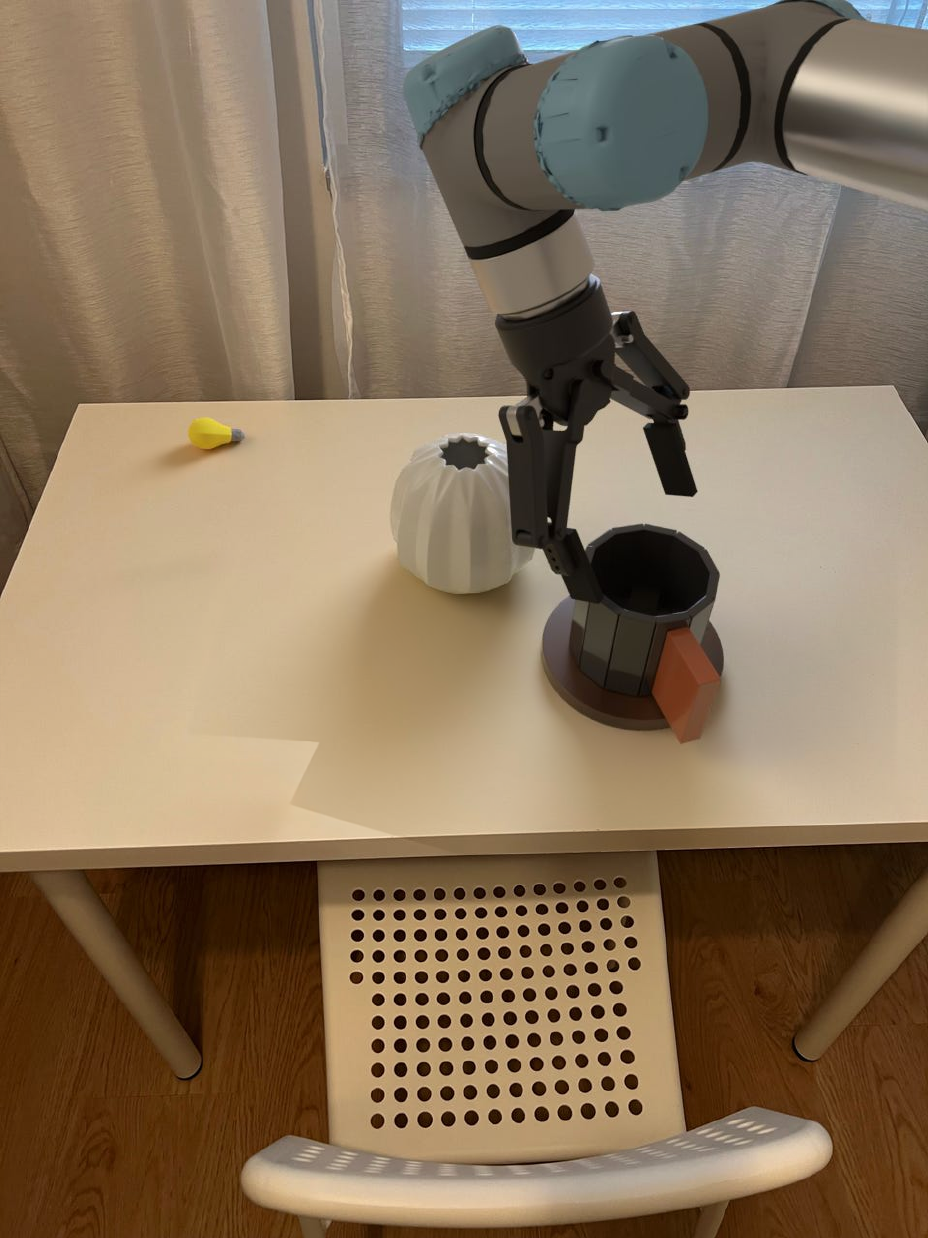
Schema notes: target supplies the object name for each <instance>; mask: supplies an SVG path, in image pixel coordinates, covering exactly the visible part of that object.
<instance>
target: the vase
mask: <svg viewBox="0 0 928 1238" xmlns="http://www.w3.org/2000/svg"><path fill="white" fill-rule="evenodd" d="M389 522H390V523H389V524H390V530H391V534H392V538H393V540H394V541H395V543H396V549H397V550H396V551H397V558H398V562H399V566H401V567H402V568H404V569H405V571H407V572H409V573H411V574H412V575H413V576H414V577H416V578H418V579H419V580H421V581H422V582H424V583H425V585H426V586H428V587H429V588H432V589H436V590H438V591H441V592H445V593H448V594H454V595H463V594H481V593H484V592H488V591H491V590H493V589H496V588H499V587H501V586H503V585H506V584H509V582H511V580H512V578H513V576H514V574H516V573H517V572H518V571H519V570H521V569H522V568H523V567H524V566H525V565H526V564H528V563H529V562H530V561H532V559H533V556H534V553H535V551H536V548H531V547H525V546H518V545H515V544H514V543H513V541H512V530H511V513H510V496H509V479H508V462H507V445H506V444H505V443H503V442H501V441H499V440H496V439H494V438H491V437H488V436H484V435H481V434H480V433H472V432H463V433H461V432H460V433H459V432H456V433H455V432H454V433H450V434H446V435H441V436H440V437H439V438H436V439H434V440H431V441H429V442H427V443H425V444H423V445H420V446H418V447H417V448H415V449H414V450H413V451H412V453H411V456H410V459H409V462H408V463H407V464H406V465H404V467H403V468H402V469H401V471H400V473H399V474H398V476H397V478H396V480H395V484H394V488H393V491H392V496H391V502H390V512H389Z"/></svg>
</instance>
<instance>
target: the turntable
mask: <svg viewBox="0 0 928 1238" xmlns="http://www.w3.org/2000/svg"><path fill="white" fill-rule="evenodd" d="M574 603H575V599H571V597H570V595H568V596H567V597H566V598H564V599H563V600H561V601H560V602H559V603H558V605H556V607H555V608H554V609H553V610H552V612H551V613H550V615H549V616H548V618H547V621H546V623H545V625H544V628H543V632H542V637H541V638H542V640H541V650H540V654H541V655H540V656H541V663H542V667H543V670H544V673H545V675H546V678H547V680H548V682H549V684H550V685H551V686H552V688H553V689H554V691H555V692H556V693H557V694H558V696H559V697H560V698H561V699H562V700H563V701H564V702H565V703H567V704H568V705H569V706H570V707H571V708H573V709H574V710H575V711H577V712H578V713H580V714H582V715H583V716H585V717H587V718H588V719H590V720H592V721H595V722H598V723H600V724H602V725H606V726H609V727H614V728H617V729H622V730H628V731H629V730H630V731H652V730H653V731H654V730H662V729H665V728H671V726H670V725H669V723H668V721H667V719H666V717H665V716H664V714H663V712H662V710H661V708H660V707H659V705H658V703H657V701H656V700H655V698H654V696H653V694H651V695H646V696H640V697H639V695H638V696H637V697H636V696H632V695H628V694H624V693H620V692H616V691H612V690H608V689H605V687H604V688H603V687H601V686H600V685H599V684H598V683H596V682H595V681H594V680H593V679H591V678H590V677H589V676H588V675H586V674H585V673H584V672H582V671H581V670H580V667H578V666H577V663H576V660H575V658H574V655H573V653H572V650H571V648H570V645H569V638H570V631H571V624H572V617H573V610H574ZM701 648H702V649H703V651H704V653H705V654H706V656H707V657H708V659H709V661H710V662H711V664H712V665H713V667H714V669H715V670H716V672H717V673H718V675H719V677H720V678H722V674H723V671H724V664H725V663H724V662H725V656H724V648H723V644H722V641H721V638H720V635H719V633H718V632H717V629H715V626H714V625H713V623H712V622H711V621H710V620H709V621H708V625H707V628H706V631H705V634H704V637H703V641H702V644H701Z"/></svg>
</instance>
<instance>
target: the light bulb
mask: <svg viewBox="0 0 928 1238" xmlns="http://www.w3.org/2000/svg"><path fill="white" fill-rule="evenodd" d="M187 435H188V439H189V441H190V443H191V444H192V445H193V446H194V447H196V448H198V449H202V450H211V449H214V448H217V447H219V446H221V445H224V444H229V443H230V442H236V443H237V442H239V443H241V442H242V441H243V440H244V439H245V438H246V437H245V436H246V435H245V432H244V431H243V430H242V429H238V428H231V427H230V426H228V425H224V424H222V423H220V422H218V421H217V420H215V419H213V418H212V417H211V418H210V417H207V416H205V417H198V418H196V419H194V420H193V421H192V422H190V424H189V426H188V430H187Z"/></svg>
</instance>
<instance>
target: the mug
mask: <svg viewBox="0 0 928 1238" xmlns="http://www.w3.org/2000/svg"><path fill="white" fill-rule="evenodd" d="M584 550H585V552H586V554H587V557H588V559H589V562H590V564H591V567H592V569H593V571H594V574H595V576H596V579H597V581H598V584H599V586H600V588H601V591H602V593H603V596H604V599H603V600H602V601H601V602H600V603H599V604H595V603H590V602H585V601H580V600H575V603H574V610H573V617H572V624H571V631H570V638H569V645H570V648H571V650H572V653H573V655H574V658H575V660H576V663H577V666H578V667H580V670H581V671H582V672H584V673H585V674H586V675H588V676H589V677H590V678H591V679H593V680H594V681H595V682H596V683H598V684H599V685H600V686H601V687H603V688H604V687H605V689H608V690H612V691H616V692H620V693H624V694H628V695H632V696H636V697H637V696H638V695H639V697H640V696H646V695H651V694H653V696H654V698H655V700H656V701H657V703H658V705H659V707H660V708H661V710H662V712H663V714H664V716H665V717H666V719H667V721H668V723H669V725H670V728H671V730H672V732H673V734H674V735H675V737H676V739H677V741H678V743H679V744H680V745H683V744H687V743H689V742H693V741H697V740H700V739H701V737H702V734H703V732H704V728H705V725H706V723H707V721H708V717H709V714H710V712H711V709H712V706H713V703H714V700H715V697H716V695H717V692H718V689H719V686H720V683H721V682H722V681H721V680H722V679H721V678H722V677H721V678H720V677H719V675H718V673H717V672H716V670H715V669H714V667H713V665H712V664H711V662H710V661H709V659H708V657H707V656H706V654H705V653H704V651H703V649H702V648H701V644H702V641H703V637H704V634H705V631H706V628H707V625H708V621H710V618H711V615H712V611H713V609H714V605H715V602H716V598H717V593H718V588H719V582H720V577H721V574H720V571H719V569H718V567H717V565H716V563H715V562H714V559H713V558H712V557H711V555H710V553H709V551H708V549H705V547H704V546H702V545H701V544H700V543H698V542H696V541H695V540H693V539H692V538H691V537H689V536H687V535H686V534H684V533H683V532H681V531H678V530H677V529H673V528H668V527H665V526H660V525H654V524H649V523H636V524H629V525H622V526H616V527H612V528H609V529H608V530H606V531H604V533H602V534H600V535H599V536H598V537H596V538H594V539H593V540H592V541H590V542H589V543H587V545H586V547H585V549H584Z"/></svg>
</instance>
